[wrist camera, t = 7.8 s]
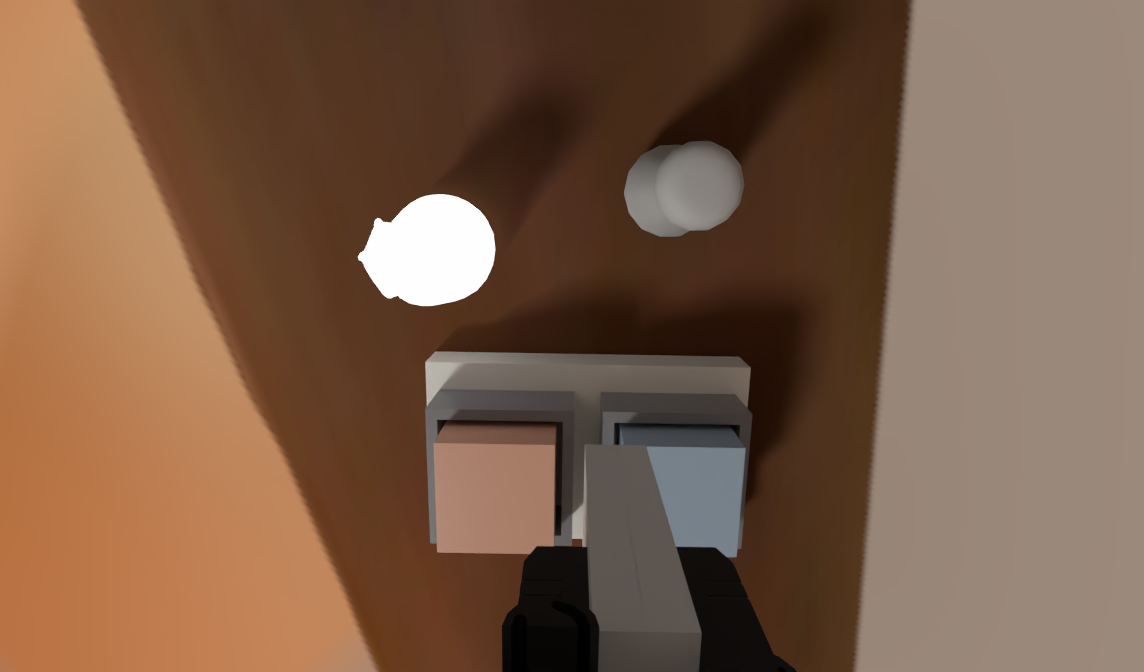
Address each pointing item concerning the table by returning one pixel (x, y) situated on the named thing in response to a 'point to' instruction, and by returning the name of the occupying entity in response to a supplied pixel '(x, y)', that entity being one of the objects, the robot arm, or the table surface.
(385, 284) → the figurine
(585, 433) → the key housing
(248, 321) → the table surface
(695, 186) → the salt shaker
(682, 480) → the slate blue key
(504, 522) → the terracotta key
